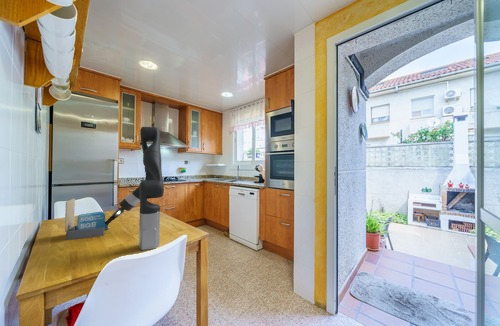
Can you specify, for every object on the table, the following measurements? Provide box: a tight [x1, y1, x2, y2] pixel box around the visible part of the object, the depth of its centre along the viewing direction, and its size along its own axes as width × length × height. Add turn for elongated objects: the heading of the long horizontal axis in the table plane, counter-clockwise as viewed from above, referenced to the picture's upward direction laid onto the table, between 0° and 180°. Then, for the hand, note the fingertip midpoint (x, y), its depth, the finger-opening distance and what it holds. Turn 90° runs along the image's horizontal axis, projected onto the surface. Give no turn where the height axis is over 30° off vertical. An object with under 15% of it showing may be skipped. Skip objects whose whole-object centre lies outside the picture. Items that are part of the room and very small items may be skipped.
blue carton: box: [76, 211, 106, 232], centre depth 108 cm, size 12×4×12 cm, turn 137°
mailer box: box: [64, 198, 109, 241], centre depth 107 cm, size 10×17×20 cm, turn 116°
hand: (106, 223), depth 111 cm, fingers closed
